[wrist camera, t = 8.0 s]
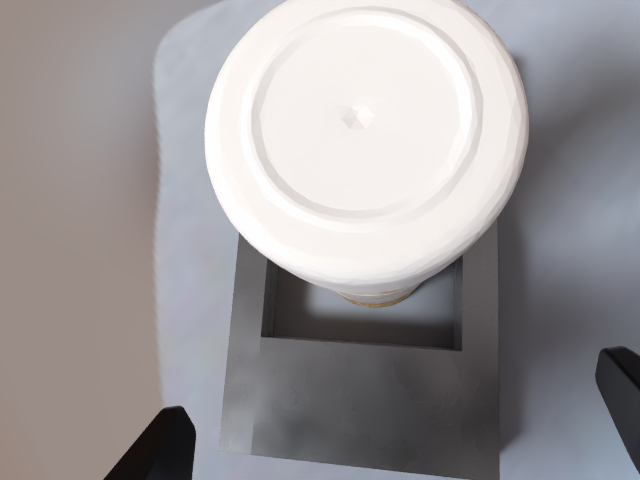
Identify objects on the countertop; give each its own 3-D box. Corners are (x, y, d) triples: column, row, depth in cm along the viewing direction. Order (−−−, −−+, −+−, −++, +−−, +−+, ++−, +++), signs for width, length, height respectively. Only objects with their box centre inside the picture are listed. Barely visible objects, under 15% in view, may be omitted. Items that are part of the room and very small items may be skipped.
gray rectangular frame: (486, 464, 17) (499, 482, 15) (236, 437, 18) (218, 451, 16) (485, 80, 20) (496, 53, 18) (267, 83, 21) (255, 59, 19)
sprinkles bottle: (317, 212, 20) (187, -7, 7) (421, 198, 19) (505, -69, 6) (327, 315, 19) (199, 303, 6) (437, 304, 18) (575, 262, 5)
